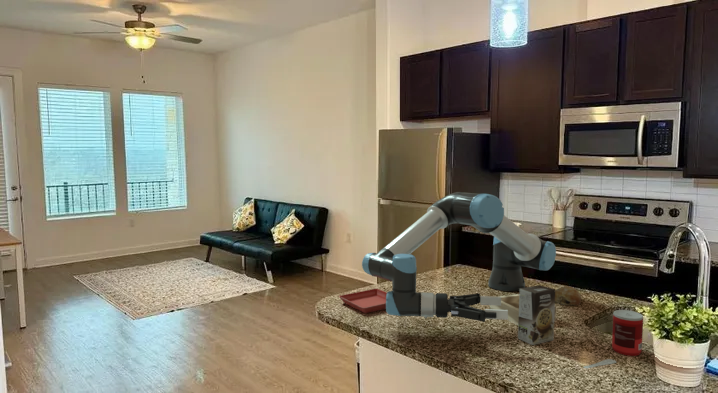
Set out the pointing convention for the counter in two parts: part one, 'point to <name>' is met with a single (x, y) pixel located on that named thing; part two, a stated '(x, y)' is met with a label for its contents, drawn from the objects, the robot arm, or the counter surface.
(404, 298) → the robot arm
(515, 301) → the wooden tray
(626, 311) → the canned food
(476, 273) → the counter surface
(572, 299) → the bread roll
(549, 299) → the coffee box
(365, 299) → the plant saucer
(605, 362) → the butter knife
